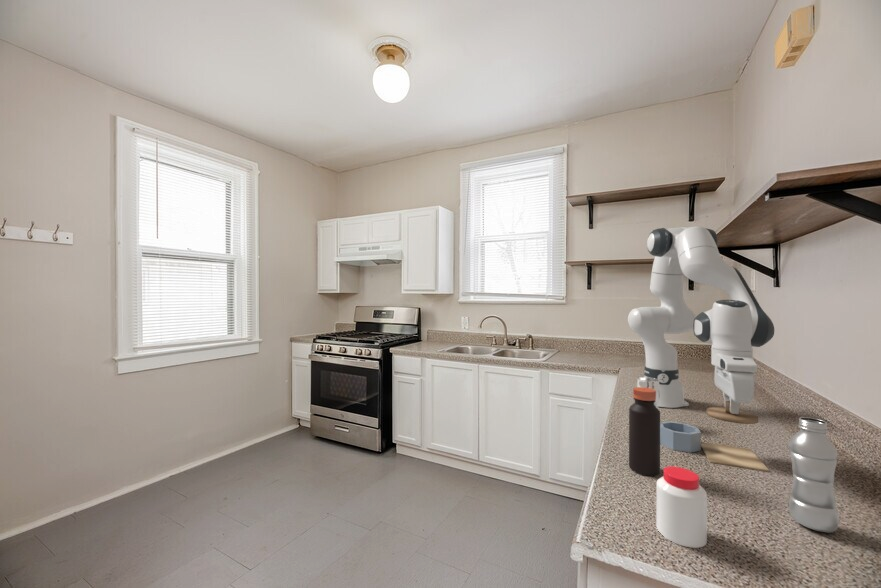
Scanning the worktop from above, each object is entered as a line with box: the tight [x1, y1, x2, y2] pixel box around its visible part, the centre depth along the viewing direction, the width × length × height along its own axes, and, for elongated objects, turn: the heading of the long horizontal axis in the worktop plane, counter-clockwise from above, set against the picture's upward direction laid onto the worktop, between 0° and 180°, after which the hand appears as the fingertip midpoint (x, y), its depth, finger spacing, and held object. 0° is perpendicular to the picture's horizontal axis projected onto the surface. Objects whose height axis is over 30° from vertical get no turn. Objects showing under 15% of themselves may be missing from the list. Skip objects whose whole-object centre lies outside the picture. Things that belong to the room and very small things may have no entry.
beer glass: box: [636, 376, 660, 410], centre depth 125 cm, size 7×7×15 cm
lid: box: [706, 401, 760, 425], centre depth 99 cm, size 11×11×4 cm
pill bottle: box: [655, 465, 708, 549], centre depth 67 cm, size 8×8×11 cm
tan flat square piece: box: [701, 441, 771, 473], centre depth 100 cm, size 14×12×1 cm
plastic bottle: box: [787, 416, 840, 534], centre depth 69 cm, size 6×7×20 cm
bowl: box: [660, 421, 702, 453], centre depth 107 cm, size 10×10×5 cm
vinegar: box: [628, 386, 661, 477], centre depth 92 cm, size 7×7×20 cm
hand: (731, 411), depth 99 cm, fingers closed on lid, 3 cm apart
